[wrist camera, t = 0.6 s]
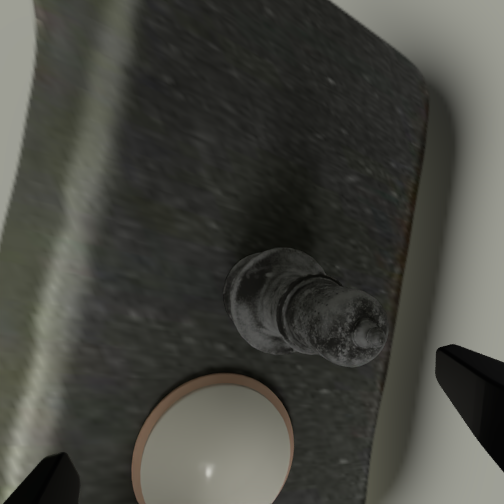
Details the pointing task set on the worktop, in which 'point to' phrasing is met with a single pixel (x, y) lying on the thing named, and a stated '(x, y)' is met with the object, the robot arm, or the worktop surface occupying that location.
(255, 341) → the dark chess piece
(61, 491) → the robot arm
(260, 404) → the coaster
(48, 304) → the worktop surface
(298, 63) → the worktop surface
